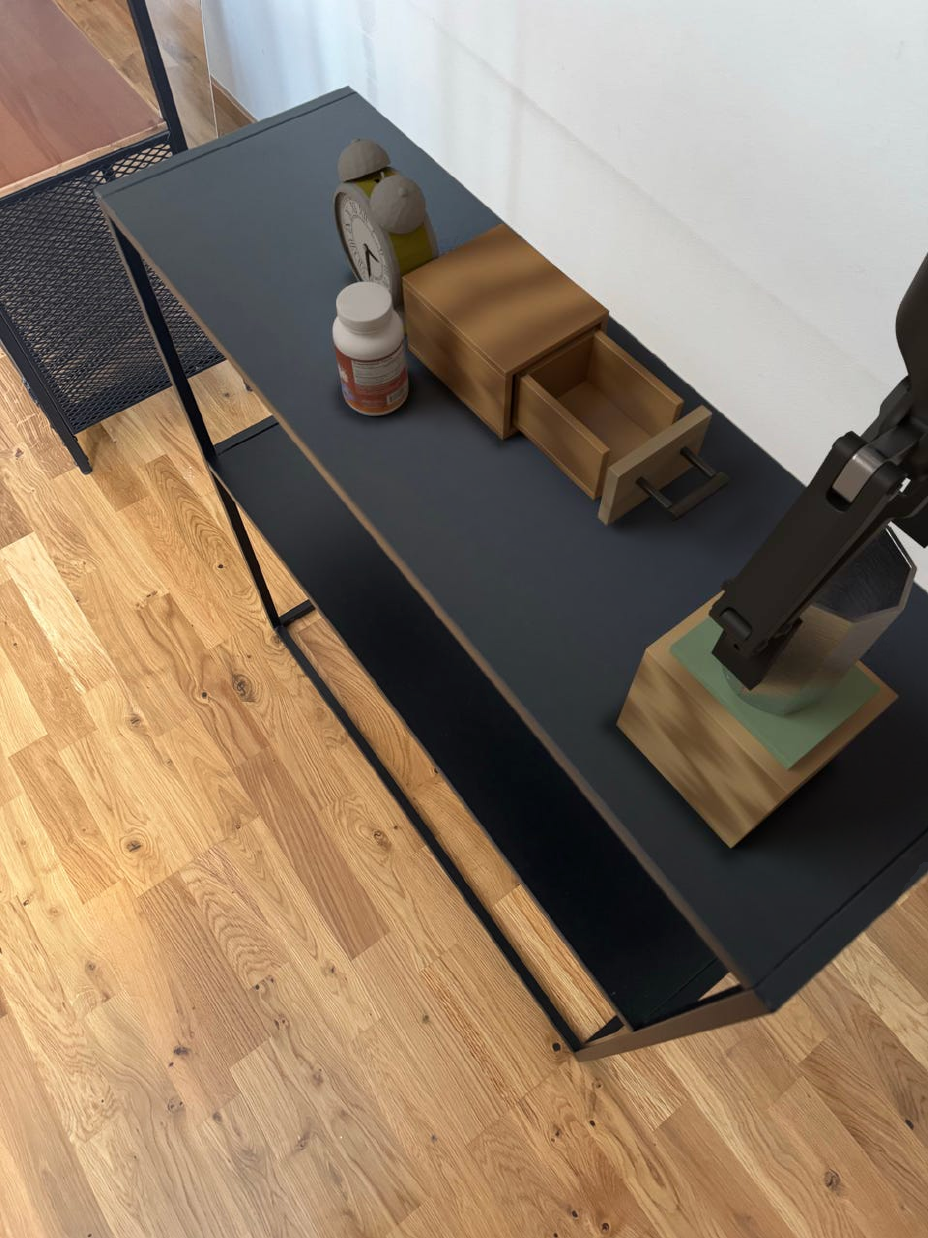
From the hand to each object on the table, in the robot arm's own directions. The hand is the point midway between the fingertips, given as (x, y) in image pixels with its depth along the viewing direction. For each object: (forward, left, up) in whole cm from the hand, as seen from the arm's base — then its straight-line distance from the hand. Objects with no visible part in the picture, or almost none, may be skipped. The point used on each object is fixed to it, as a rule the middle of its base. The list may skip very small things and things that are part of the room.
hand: (825, 595), depth 47 cm
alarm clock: (+45, -30, -23) cm, 59 cm away
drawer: (+17, -20, -22) cm, 34 cm away
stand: (0, 0, -23) cm, 23 cm away
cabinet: (+32, -27, -23) cm, 47 cm away
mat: (0, 0, -10) cm, 10 cm away
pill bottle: (+41, -18, -23) cm, 50 cm away
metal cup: (0, 0, -9) cm, 9 cm away
